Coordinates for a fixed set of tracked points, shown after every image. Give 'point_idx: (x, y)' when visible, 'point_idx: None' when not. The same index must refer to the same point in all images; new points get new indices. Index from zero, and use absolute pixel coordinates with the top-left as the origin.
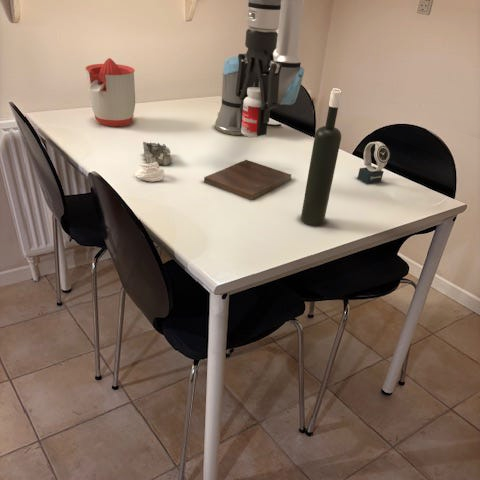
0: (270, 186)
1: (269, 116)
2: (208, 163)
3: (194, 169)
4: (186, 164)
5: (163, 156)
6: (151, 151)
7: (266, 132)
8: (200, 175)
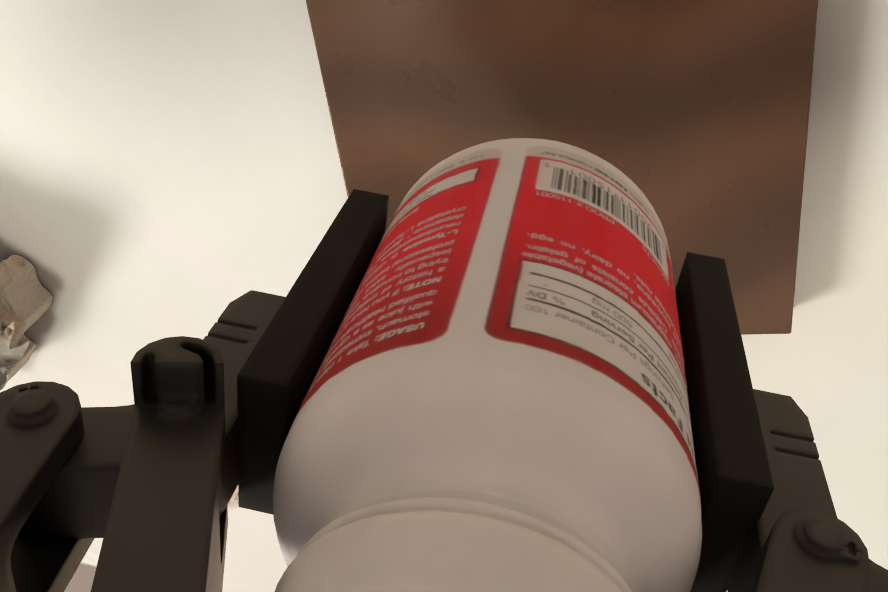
0: (807, 99)
1: (818, 462)
2: (118, 53)
3: (178, 215)
4: (79, 193)
5: (16, 344)
6: None
7: (726, 273)
8: (283, 258)
